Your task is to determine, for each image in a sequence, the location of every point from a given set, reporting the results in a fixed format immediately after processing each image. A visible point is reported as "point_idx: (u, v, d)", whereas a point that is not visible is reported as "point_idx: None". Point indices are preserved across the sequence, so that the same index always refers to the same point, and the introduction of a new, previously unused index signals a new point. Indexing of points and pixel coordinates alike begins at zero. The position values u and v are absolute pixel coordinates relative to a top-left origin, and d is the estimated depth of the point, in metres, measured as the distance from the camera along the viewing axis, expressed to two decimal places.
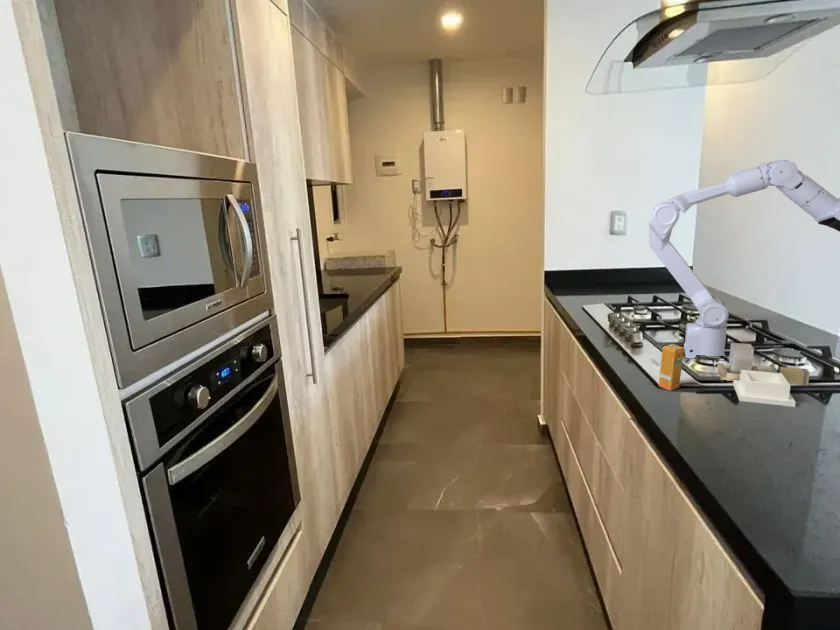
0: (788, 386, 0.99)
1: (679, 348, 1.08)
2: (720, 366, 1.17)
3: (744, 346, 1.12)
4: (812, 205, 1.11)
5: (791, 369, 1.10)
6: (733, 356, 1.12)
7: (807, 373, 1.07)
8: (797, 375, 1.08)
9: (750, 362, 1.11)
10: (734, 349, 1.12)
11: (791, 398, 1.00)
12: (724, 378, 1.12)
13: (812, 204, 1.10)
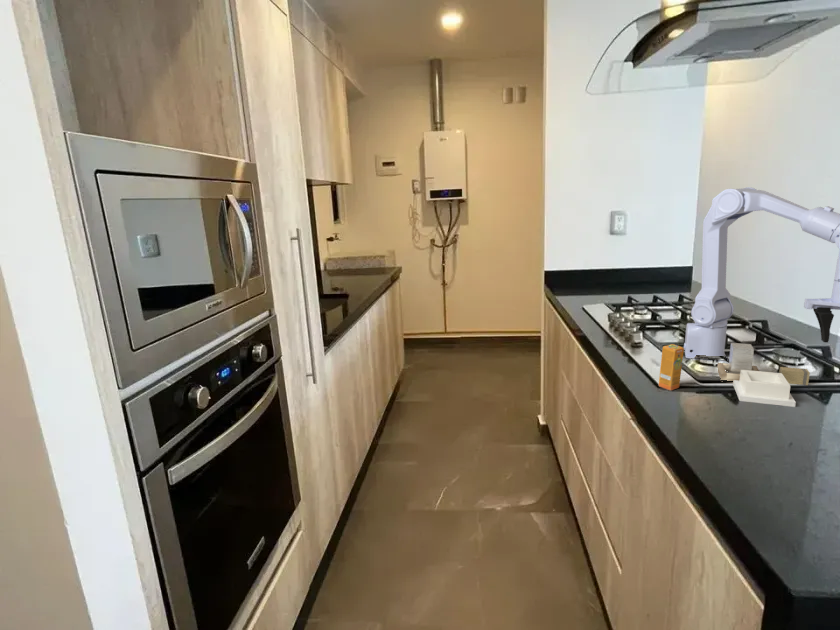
0: (788, 386, 0.99)
1: (679, 348, 1.08)
2: (720, 366, 1.17)
3: (744, 346, 1.12)
4: None
5: (791, 369, 1.10)
6: (733, 356, 1.12)
7: (807, 373, 1.07)
8: (797, 375, 1.08)
9: (750, 362, 1.11)
10: (734, 349, 1.12)
11: (791, 398, 1.00)
12: (724, 378, 1.12)
13: None
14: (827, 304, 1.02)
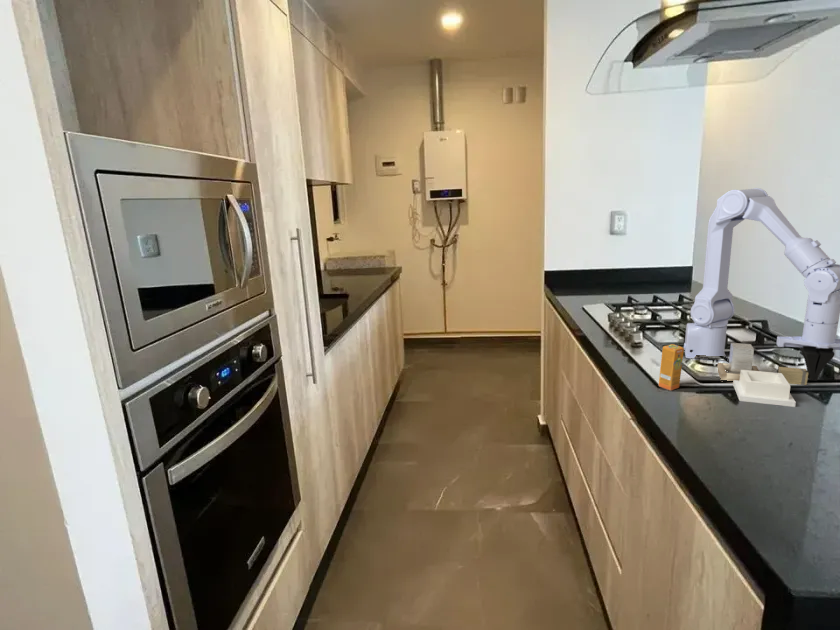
0: (788, 386, 0.99)
1: (679, 348, 1.08)
2: (720, 366, 1.17)
3: (744, 346, 1.12)
4: None
5: (789, 369, 1.10)
6: (733, 356, 1.12)
7: (806, 373, 1.07)
8: (796, 375, 1.08)
9: (750, 362, 1.11)
10: (734, 349, 1.12)
11: (791, 398, 1.00)
12: (724, 378, 1.12)
13: None
14: (798, 343, 1.06)
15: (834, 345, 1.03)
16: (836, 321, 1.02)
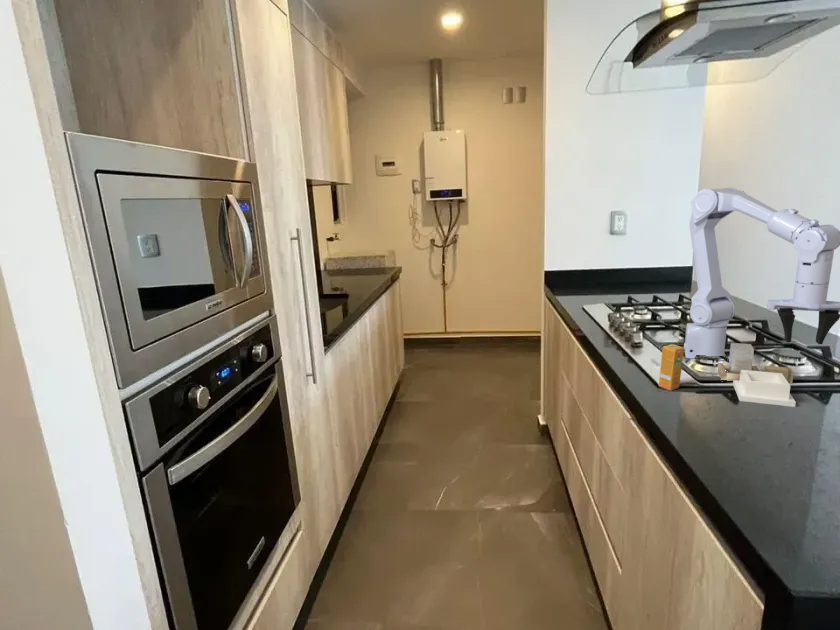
0: (788, 386, 0.99)
1: (679, 348, 1.08)
2: (720, 366, 1.17)
3: (744, 346, 1.12)
4: None
5: (775, 367, 1.11)
6: (733, 356, 1.12)
7: (791, 372, 1.09)
8: None
9: (750, 362, 1.11)
10: (734, 349, 1.12)
11: (791, 398, 1.00)
12: (724, 378, 1.12)
13: None
14: (788, 305, 1.05)
15: (825, 306, 1.02)
16: (826, 281, 1.01)
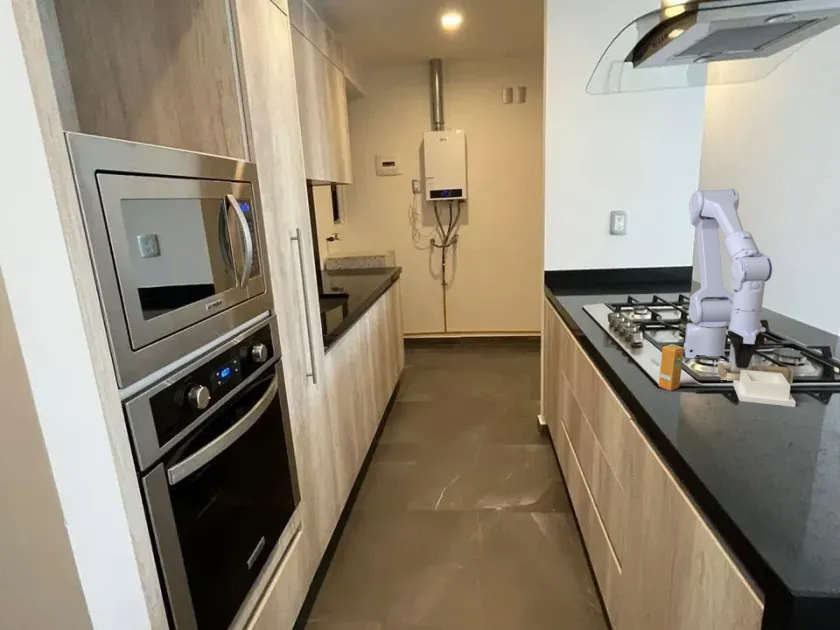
0: (788, 386, 0.99)
1: (679, 348, 1.08)
2: (720, 366, 1.17)
3: None
4: (740, 315, 1.09)
5: (775, 367, 1.11)
6: (733, 356, 1.12)
7: (791, 372, 1.09)
8: None
9: (750, 362, 1.11)
10: None
11: (791, 398, 1.00)
12: (724, 378, 1.12)
13: (741, 314, 1.09)
14: (756, 334, 1.07)
15: None
16: (752, 309, 1.08)
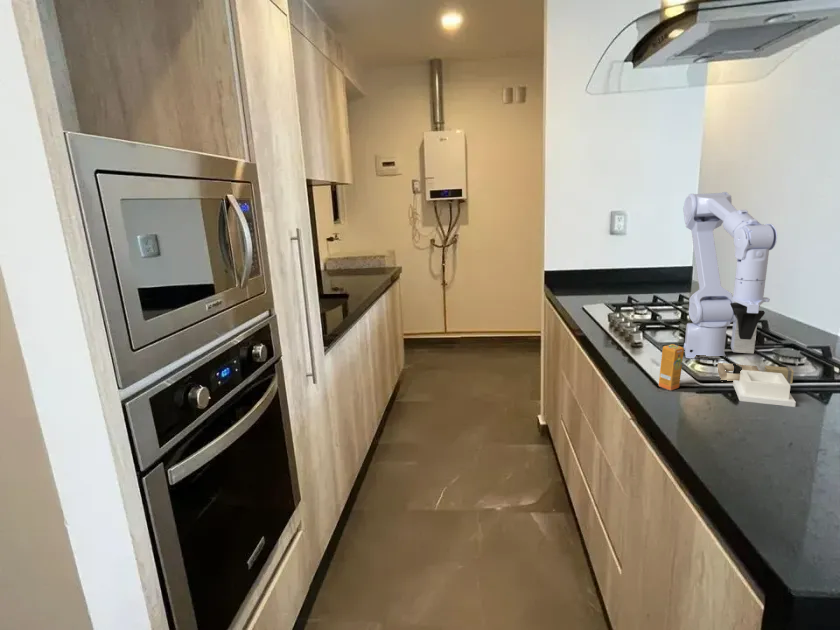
0: (788, 386, 0.99)
1: (679, 348, 1.08)
2: (720, 366, 1.17)
3: None
4: (744, 285, 1.07)
5: (775, 367, 1.11)
6: (736, 327, 1.10)
7: (791, 372, 1.09)
8: None
9: (754, 333, 1.09)
10: (737, 320, 1.10)
11: (791, 398, 1.00)
12: (724, 378, 1.12)
13: (745, 284, 1.07)
14: (760, 304, 1.06)
15: None
16: (756, 278, 1.06)
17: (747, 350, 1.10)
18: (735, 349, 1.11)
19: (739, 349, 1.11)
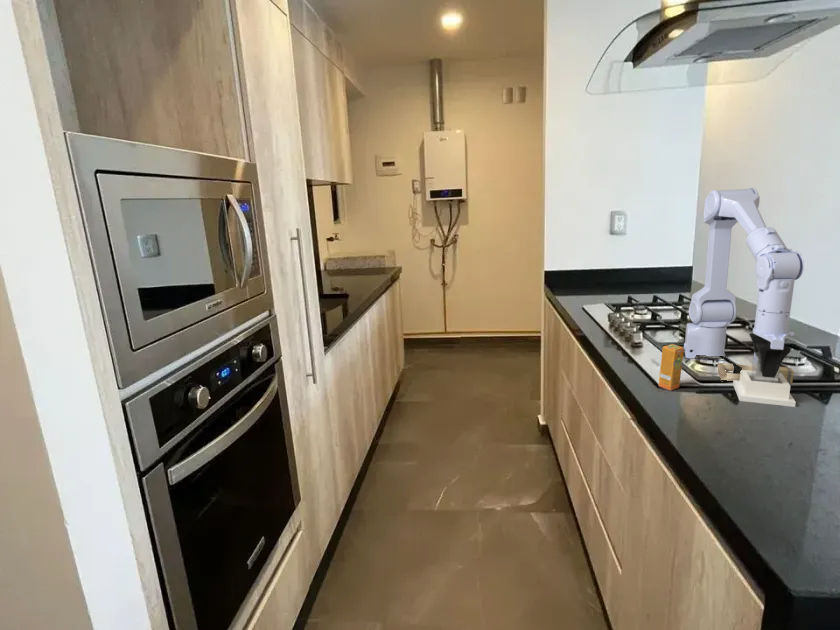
0: (788, 386, 0.99)
1: (679, 348, 1.08)
2: (720, 366, 1.17)
3: None
4: (767, 317, 0.98)
5: None
6: (757, 367, 1.02)
7: (791, 372, 1.09)
8: None
9: None
10: (759, 359, 1.01)
11: (791, 398, 1.00)
12: (724, 378, 1.12)
13: (768, 317, 0.98)
14: (785, 338, 0.97)
15: None
16: (780, 311, 0.97)
17: None
18: None
19: None
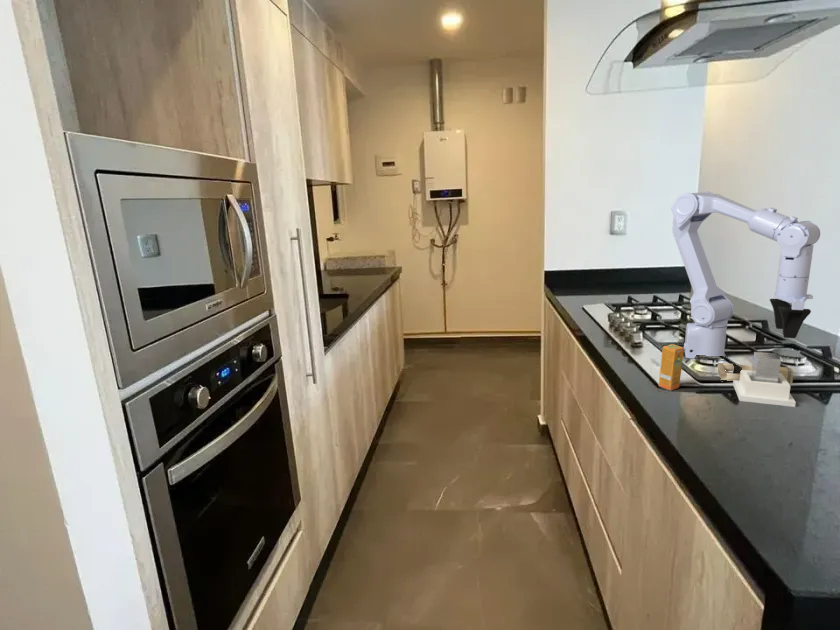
0: (788, 386, 0.99)
1: (679, 348, 1.08)
2: (720, 366, 1.17)
3: (769, 355, 1.02)
4: (788, 282, 1.08)
5: None
6: (757, 367, 1.02)
7: (791, 372, 1.09)
8: None
9: (776, 373, 1.01)
10: (759, 359, 1.01)
11: (791, 398, 1.00)
12: (724, 378, 1.12)
13: (789, 281, 1.08)
14: (804, 300, 1.06)
15: None
16: (807, 275, 1.07)
17: None
18: None
19: None
